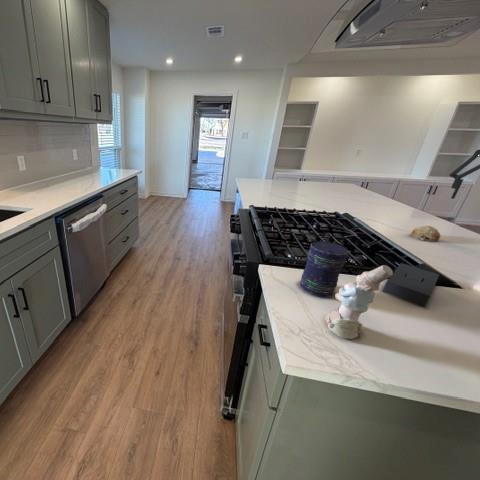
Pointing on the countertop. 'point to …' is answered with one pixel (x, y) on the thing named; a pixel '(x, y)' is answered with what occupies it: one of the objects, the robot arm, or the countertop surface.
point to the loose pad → (417, 273)
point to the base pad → (409, 288)
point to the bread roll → (426, 233)
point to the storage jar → (323, 268)
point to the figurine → (356, 302)
